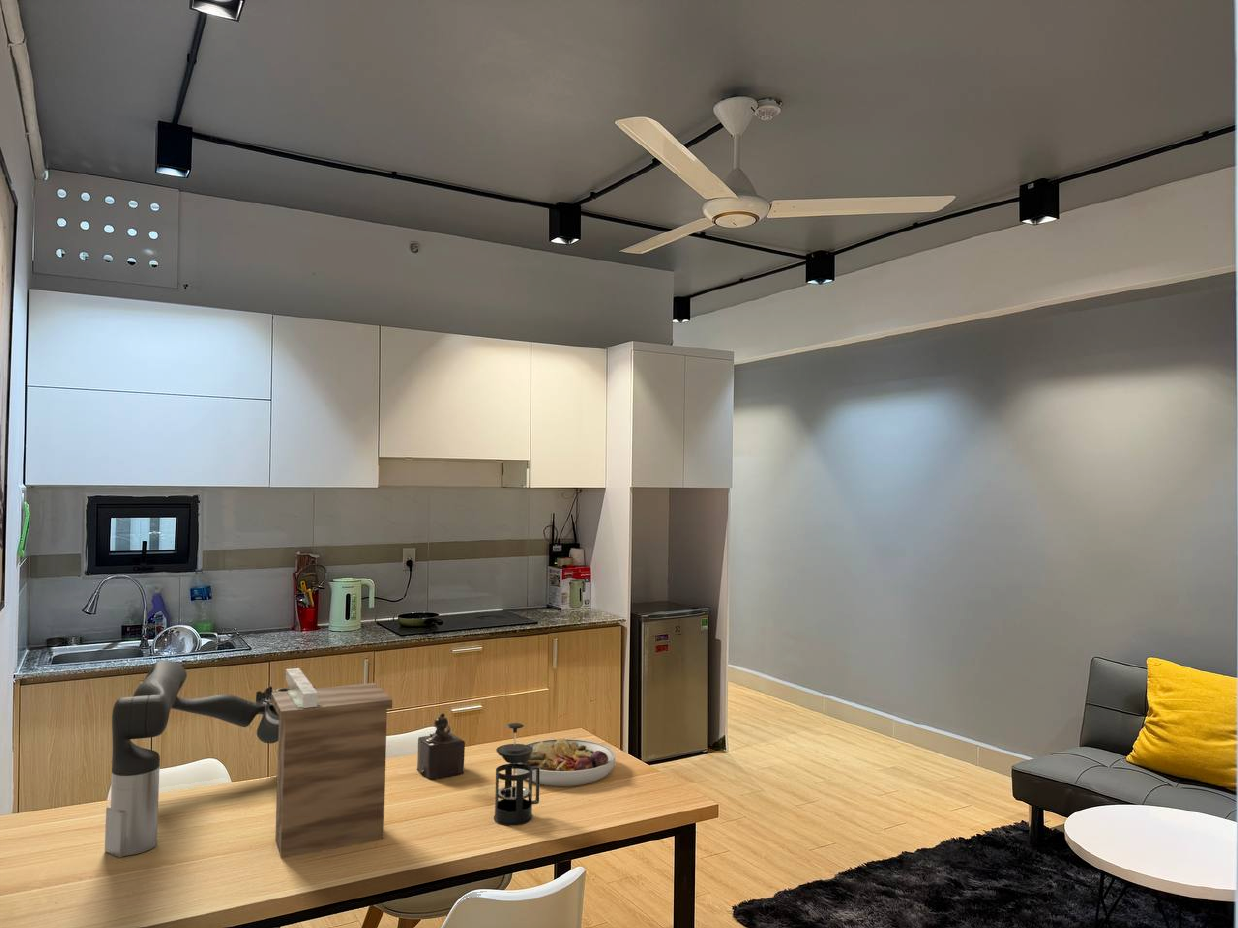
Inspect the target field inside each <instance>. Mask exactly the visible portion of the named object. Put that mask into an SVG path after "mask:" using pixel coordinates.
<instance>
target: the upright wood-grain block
mask: <svg viewBox="0 0 1238 928" xmlns="http://www.w3.org/2000/svg"><path fill="white" fill-rule="evenodd" d="M315 690H316V691H317V692H318V704H317V707H308V708H303V707H302V706H301V704H300V702H299V701H298V699H297V698H296V696H295V695H294V693H293V691H292V690H291V689H290V690H287V691H285V692H275V693H271V702H272V704H273V706H274V708H275V710H276V712H277V714H278V716H279V738H278V742H277V744H278V745H277V747H278V748H277V773H276V774H277V777H276V808H275V809H276V810H275V811H276V812H275V840H274V841H275V843H276V846H277V849H278V852H279V856H280V858H281V859H282V857H283V858H288V857H287V856H289V857H292V856H293V855H294V856H298V855H303V854H310V853H315V852H320V851H325V850H332V849H337V848H341V847H347V846H354V845H358V844H363V843H369V842H374V841H380V840H384V826H385V825H384V824H385V820H384V819H385V791H386V788H385V785H386V784H385V783H386V756H387V754H386V753H387V752H386V751H387V750H386V748H387V747H386V746H387V745H386V743H387V717H388V716H387V714H388V712H387V711H388V709H389V710H390V709H392V708H393V699H392V697H390V696H389V695H388V694H387V693H386V692H385V691H384V690H383V689H382V688H381V687H380V686H378V685H377V683H376V682H371V683H363V684H361V683H359V684H350V685H339V686H338V685H337V686H328V687H318V688H316V687H315Z"/></svg>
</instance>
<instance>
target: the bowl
mask: <svg viewBox="0 0 1238 928" xmlns="http://www.w3.org/2000/svg"><path fill="white" fill-rule="evenodd" d="M524 745H528V746H531V747H532V748H533V751H532V752H531V759H530V760H528V761H526V762H522V763H520V764H526V765H529V766H531V767H533V766H537V767H538V768H539V769H540V774H539V785H543V784H544V785H543V786H552V787H572V786H581V785H586V784H591V783H595V782H597V781H599V780H602V779H603V778H605V777H607V775H609V774H610V773H611V771H613V768H614V766H615V764H616V753H615V751H614V750H613V749H612V748H611V747H609V746H607V745H605V744H601V743H599V742H595V741H590V740H586V739H576V738H575V739H574V738H564V737H563V738H553V739H552V738H551V739H542V740H537V741H536V740H535V741H532V742H528V743H526V744H524ZM528 772H529V771H528V770H524V769H515V773H516V774H517V775H521V774H526V773H528ZM525 780H527V781H529V778H528V779H525ZM532 783H535V784H536V770H532Z"/></svg>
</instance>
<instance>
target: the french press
mask: <svg viewBox="0 0 1238 928" xmlns="http://www.w3.org/2000/svg"><path fill="white" fill-rule="evenodd" d="M523 727H525V726H524V724H523V723H519V722H512V723H509V724H507V725H506V728H509V729H512V733H514V735H513V743H509V744H504V745H500V746H498V747H497V748H496V753H497V754H498V755H499V756H501V758H503V760H504V761H505V762H506V763H505V764H500V765H499V766H497V767H496V768H495V795H494V797H495V802H494V803H495V805H494V815H493V820H494V822H495V823H497V824H499V825H502V826H508V827H515V826H521V825H525V824H526V825H527V824H528V823H529V822H531V821H532V820H533V814H532V811H533V810H532V809H533V808H532V806H533V805H538V804H539V802H540V784H539V774H540V769H539V768H538V767H537V766H533V767H531V766H529V765H526V764H520V763H522V762H526V761H528V760H530V759H531V752H532V751H533V748H532V747H531V746H528V745H525V744H524V743H517V741H516V740H517V739H516V736H517V732H518V729H522V728H523ZM515 769H524V770H528V771H529V772H528V773H526V774H521V775H519V774H516V771H515ZM532 770H536V783H535V799H534V800H532V799H533V798H532V796H533V794H532V792H533V790H532V789H533V782H532ZM502 771H504V773H500V772H502ZM528 778H529V780H528V787H526V786H524V781H525V780H526V779H528ZM499 780H502V781H504V787H501V788H499V787H500V786H499V785H500V783H499V782H500V781H499ZM512 783H513V784H512ZM515 783H516V784H515ZM527 798H528V799H527ZM499 799H501V800H499Z"/></svg>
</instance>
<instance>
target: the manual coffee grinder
mask: <svg viewBox="0 0 1238 928" xmlns="http://www.w3.org/2000/svg"><path fill="white" fill-rule="evenodd" d="M433 723H434V728H435V729H436V730H435V731H434V733H429V735H425V736H418V738H417V759H416V760H417V761H416V762H417V765H416V771H417V772H419V774H420V775H422V776H423V777H425V778H426V779H429V780H431V781H432V780H440V779H446V778H451V777H457V776H460V775H463V774H465V773H464V769H465V768H464V767H465V752H466V751H465V750H466V749H465V748H466V747H465V746H466V742H465V741H464V739H462V738H460V737H458V736H457V735H455V734H454V733H452V732H451V727H450V725H449V720H448V718H447V717H445V713H443V712H442V713H441V714H439V717H437V718H435V719H434V722H433ZM445 729H446V730H445Z"/></svg>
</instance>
